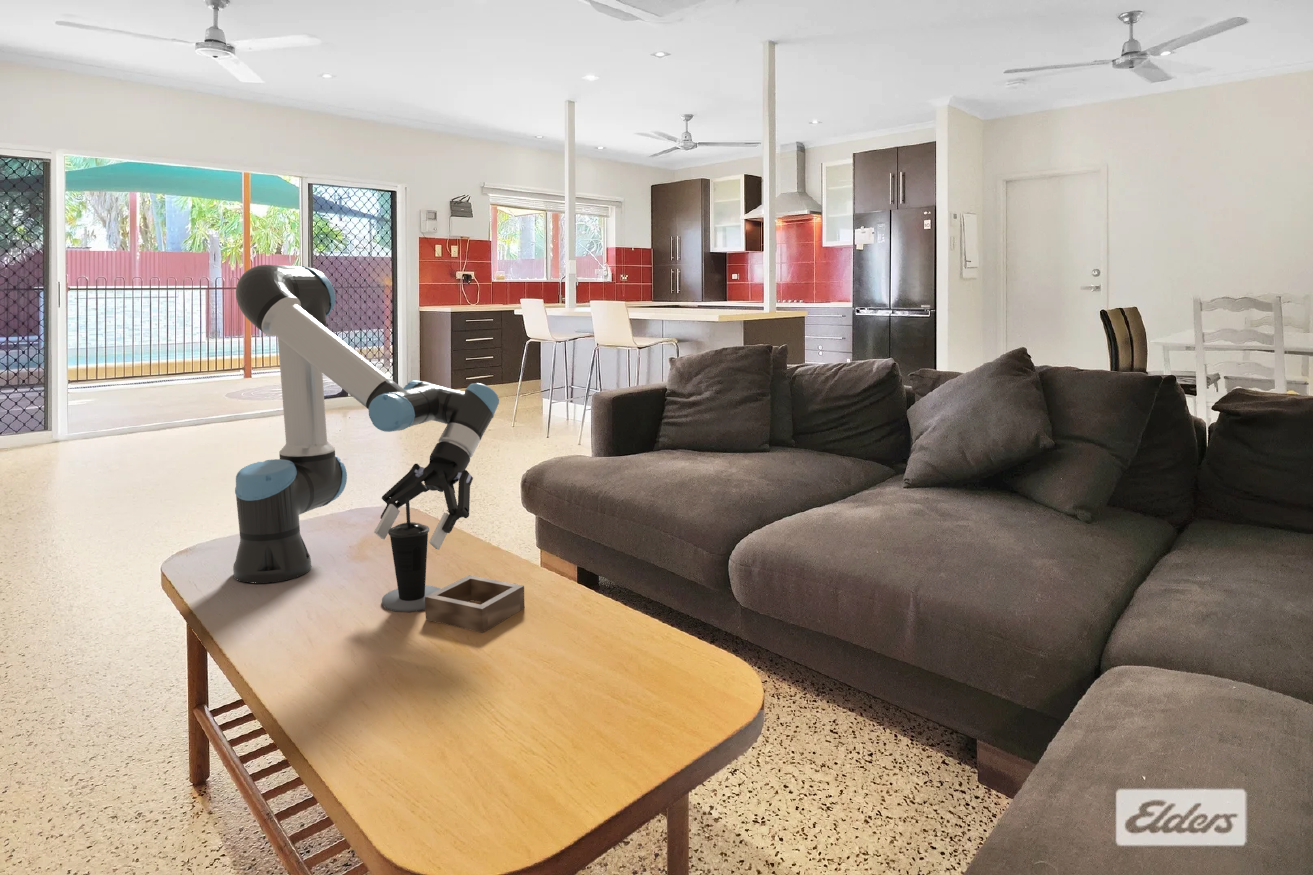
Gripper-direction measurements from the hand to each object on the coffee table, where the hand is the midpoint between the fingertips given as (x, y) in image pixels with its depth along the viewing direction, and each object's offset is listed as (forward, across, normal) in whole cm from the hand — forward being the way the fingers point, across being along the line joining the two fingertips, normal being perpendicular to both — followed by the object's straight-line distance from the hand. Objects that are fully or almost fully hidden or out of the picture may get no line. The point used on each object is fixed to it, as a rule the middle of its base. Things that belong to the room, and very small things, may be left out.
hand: (405, 540), depth 159 cm
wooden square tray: (+8, -15, -10) cm, 20 cm away
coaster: (+8, 0, -10) cm, 13 cm away
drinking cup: (+7, 0, -10) cm, 12 cm away
